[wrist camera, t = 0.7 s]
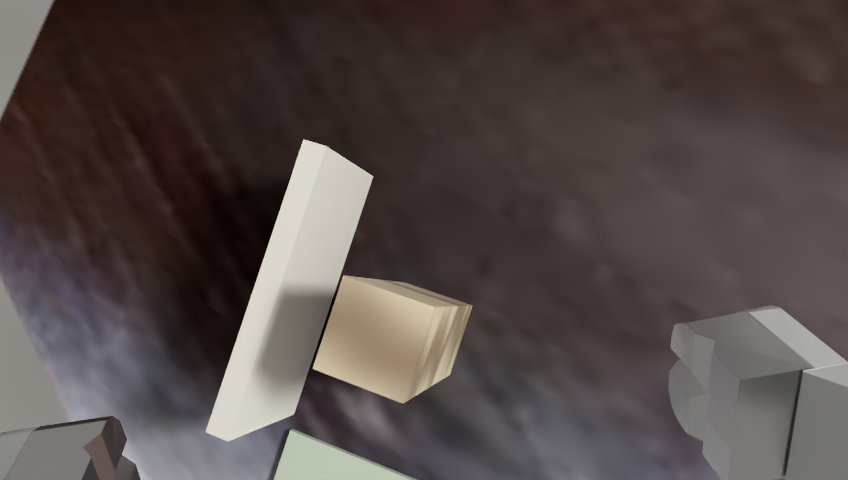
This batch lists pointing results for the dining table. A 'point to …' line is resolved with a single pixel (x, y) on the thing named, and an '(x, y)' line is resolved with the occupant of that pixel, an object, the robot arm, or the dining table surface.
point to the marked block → (391, 337)
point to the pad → (327, 462)
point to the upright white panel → (291, 293)
